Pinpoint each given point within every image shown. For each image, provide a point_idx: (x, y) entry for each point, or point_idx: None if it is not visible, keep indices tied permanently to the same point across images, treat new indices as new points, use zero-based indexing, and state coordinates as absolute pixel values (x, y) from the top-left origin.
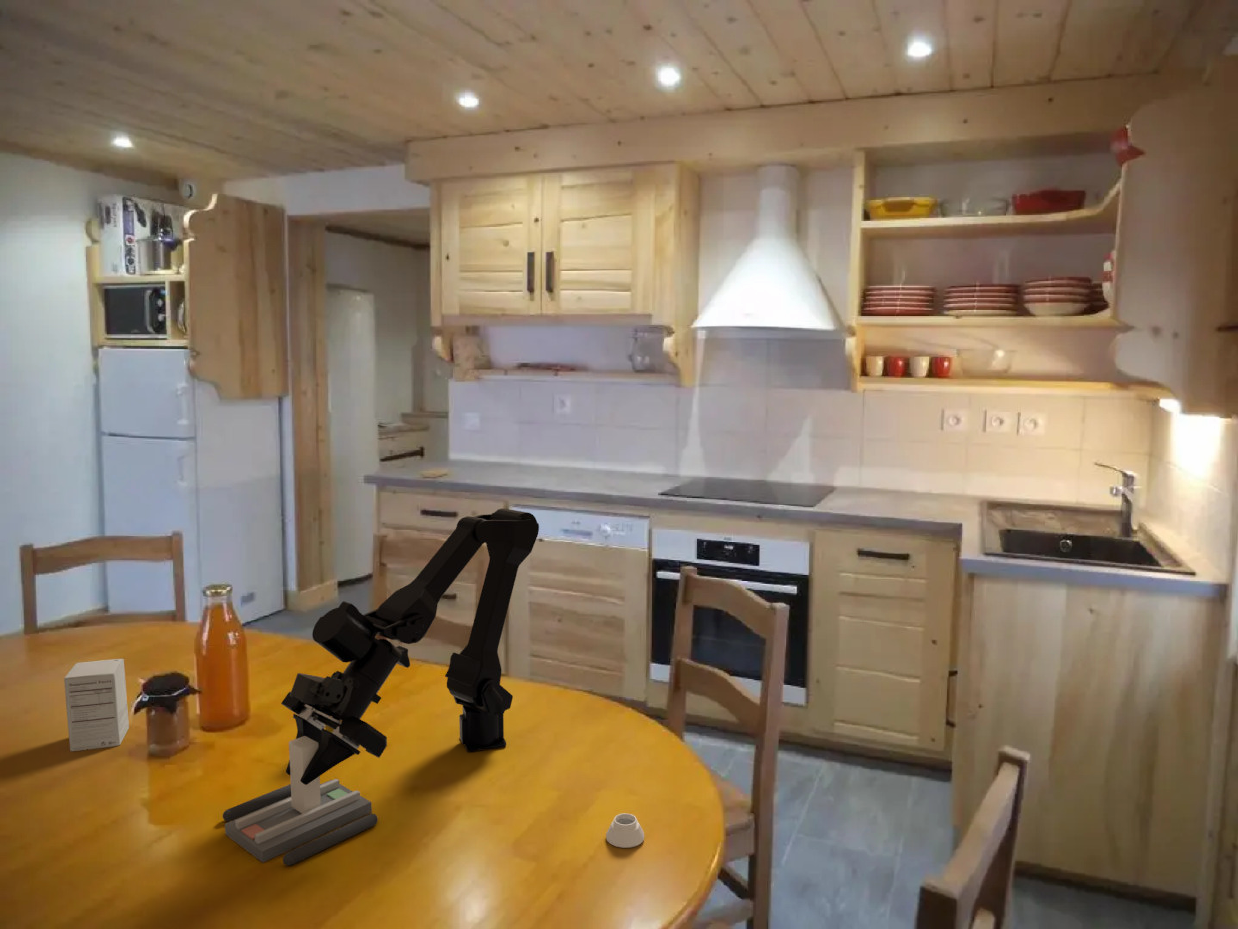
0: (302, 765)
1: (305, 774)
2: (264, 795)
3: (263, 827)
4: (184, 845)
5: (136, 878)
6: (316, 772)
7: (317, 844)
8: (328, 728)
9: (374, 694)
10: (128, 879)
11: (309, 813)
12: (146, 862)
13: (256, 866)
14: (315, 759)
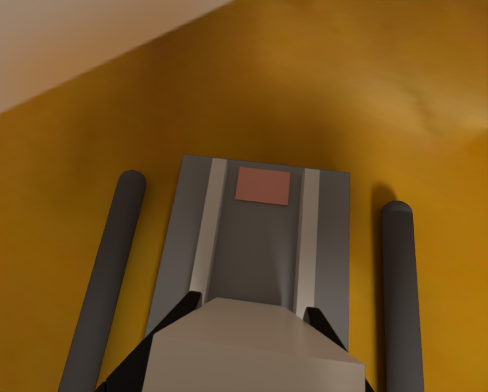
0: (187, 315)
1: (175, 309)
2: (408, 308)
3: (263, 209)
4: (364, 122)
5: (326, 41)
6: None
7: (102, 237)
8: None
9: None
10: (333, 34)
11: None
12: (360, 66)
13: (190, 152)
14: (116, 379)
